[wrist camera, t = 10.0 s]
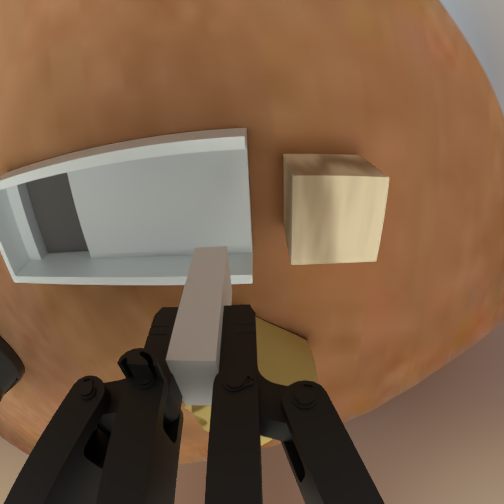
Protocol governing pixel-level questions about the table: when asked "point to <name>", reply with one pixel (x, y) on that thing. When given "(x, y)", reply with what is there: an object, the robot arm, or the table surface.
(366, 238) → the block
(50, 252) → the channel
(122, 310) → the table surface
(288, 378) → the cheese
